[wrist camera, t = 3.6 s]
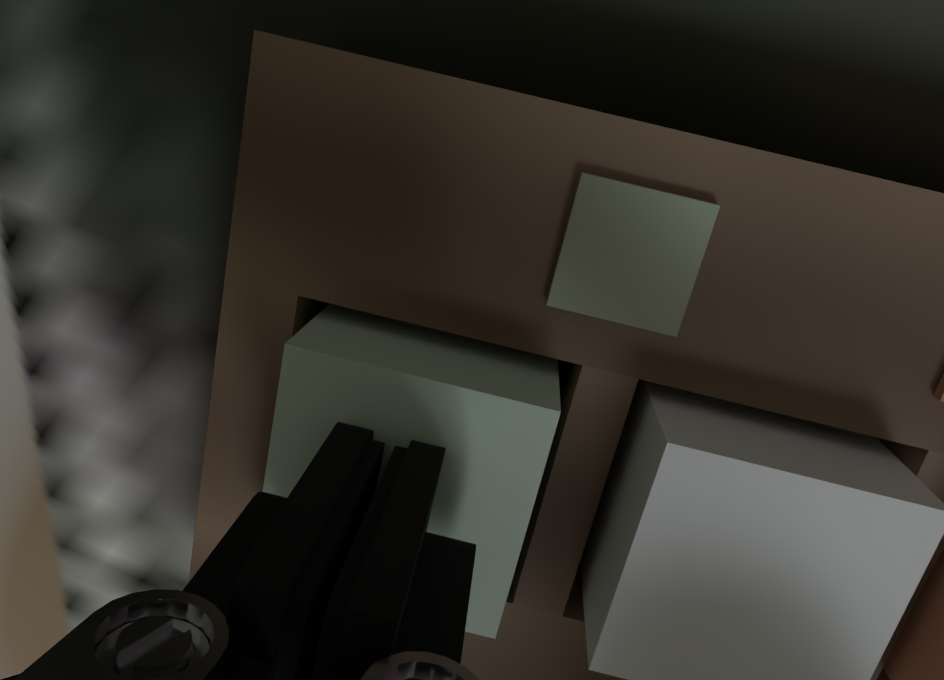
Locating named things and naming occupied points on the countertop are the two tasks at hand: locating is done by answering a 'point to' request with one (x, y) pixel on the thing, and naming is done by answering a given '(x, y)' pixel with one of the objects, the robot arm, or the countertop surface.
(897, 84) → the countertop surface
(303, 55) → the keypad
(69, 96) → the countertop surface
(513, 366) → the sage key
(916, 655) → the terracotta key
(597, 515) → the grey key
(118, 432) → the countertop surface
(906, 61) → the countertop surface
